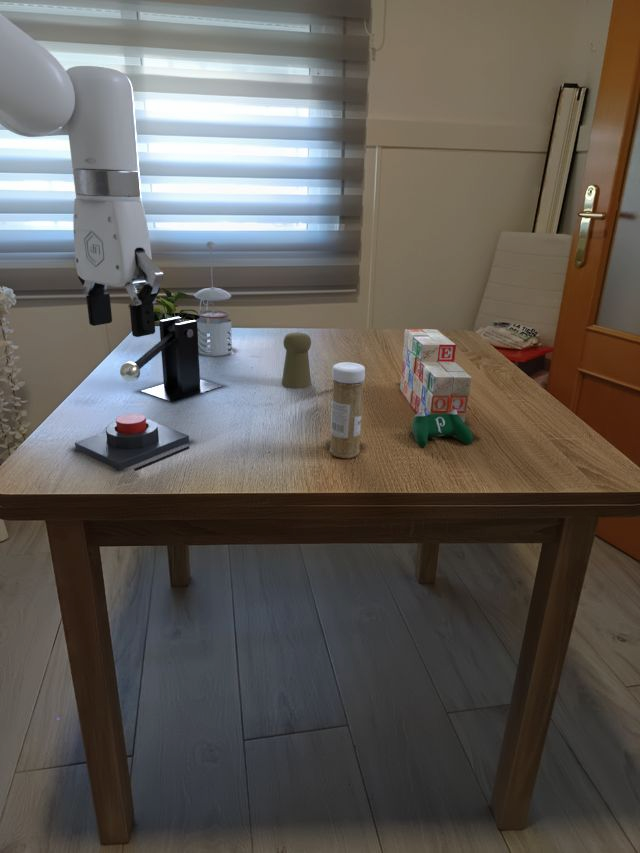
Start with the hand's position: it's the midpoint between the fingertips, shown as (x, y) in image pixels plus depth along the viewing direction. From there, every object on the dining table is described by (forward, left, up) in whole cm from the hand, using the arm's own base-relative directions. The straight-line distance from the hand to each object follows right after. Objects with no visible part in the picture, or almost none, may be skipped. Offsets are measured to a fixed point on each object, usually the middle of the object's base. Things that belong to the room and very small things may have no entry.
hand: (121, 328), depth 76 cm
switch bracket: (+16, +20, -18) cm, 31 cm away
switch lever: (+11, +18, -10) cm, 24 cm away
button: (0, 0, -14) cm, 14 cm away
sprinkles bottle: (+26, -16, -18) cm, 36 cm away
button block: (0, 0, -18) cm, 18 cm away
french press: (+33, +42, -18) cm, 56 cm away
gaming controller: (+42, -20, -18) cm, 50 cm away
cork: (+36, +12, -18) cm, 42 cm away
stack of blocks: (+51, -9, -18) cm, 55 cm away
